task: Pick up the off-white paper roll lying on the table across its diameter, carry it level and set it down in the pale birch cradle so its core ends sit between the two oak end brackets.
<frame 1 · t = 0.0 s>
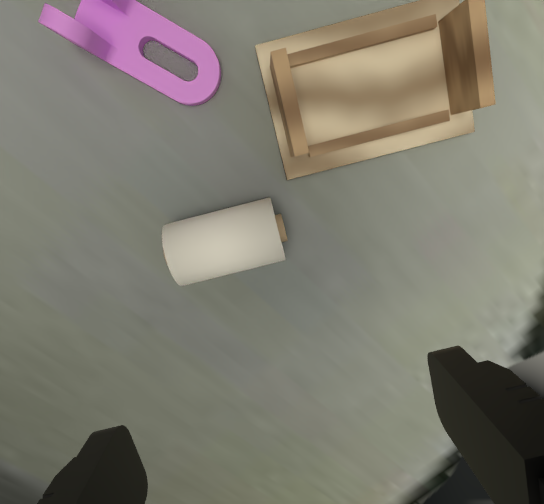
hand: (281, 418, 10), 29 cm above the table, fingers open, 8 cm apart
cradle: (365, 91, 35), on the table
roll: (229, 235, 39), on the table
bracket: (154, 52, 35), on the table
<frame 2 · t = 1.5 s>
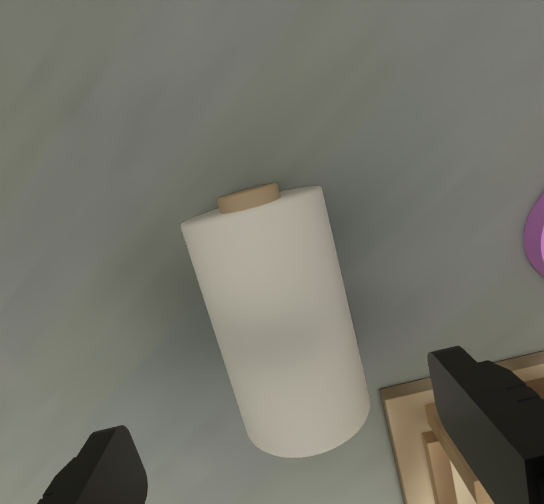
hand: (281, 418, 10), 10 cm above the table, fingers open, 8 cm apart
cradle: (505, 494, 23), on the table
roll: (278, 290, 20), on the table
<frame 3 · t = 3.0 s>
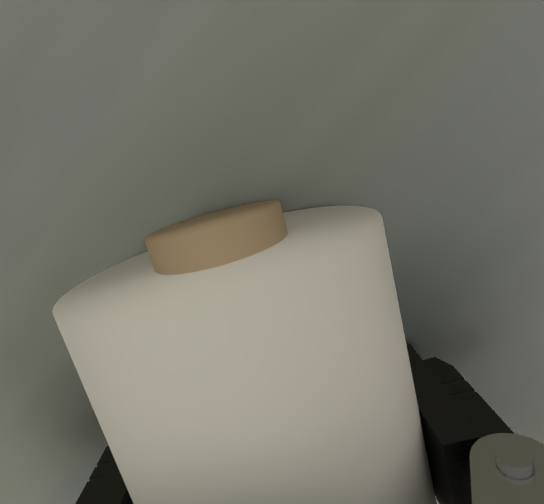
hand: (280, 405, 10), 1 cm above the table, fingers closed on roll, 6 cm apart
roll: (279, 383, 11), on the table, touching gripper
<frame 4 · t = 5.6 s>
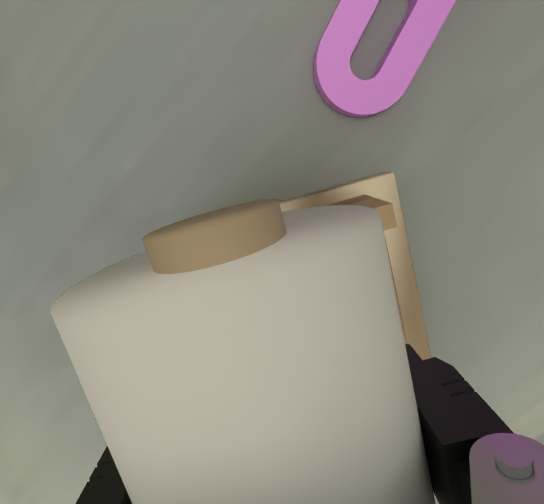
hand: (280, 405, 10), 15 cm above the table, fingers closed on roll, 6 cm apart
cradle: (330, 324, 26), on the table
roll: (278, 383, 11), point 14 cm above the table, touching gripper
bracket: (391, 7, 22), on the table
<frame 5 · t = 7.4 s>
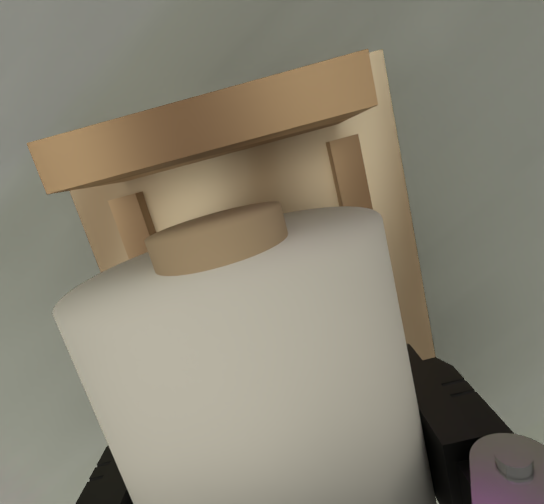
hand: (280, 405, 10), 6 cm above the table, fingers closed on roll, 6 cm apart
cradle: (276, 317, 16), on the table
roll: (279, 384, 11), point 5 cm above the table, touching gripper
when the fingers open (3 cm above the table, at t = 8.5 s): roll stays where it is, resting on cradle.
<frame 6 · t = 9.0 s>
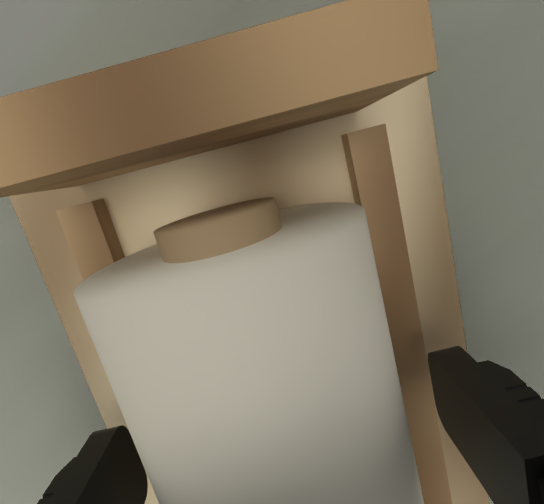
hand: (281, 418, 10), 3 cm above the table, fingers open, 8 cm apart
cradle: (276, 353, 13), on the table
roll: (279, 368, 12), point 1 cm above the table, touching cradle
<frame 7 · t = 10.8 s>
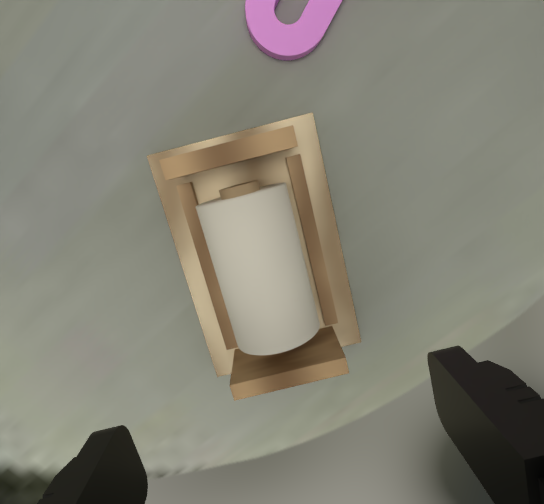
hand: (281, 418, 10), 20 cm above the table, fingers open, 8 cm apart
cradle: (261, 252, 30), on the table
roll: (262, 255, 29), point 1 cm above the table, touching cradle
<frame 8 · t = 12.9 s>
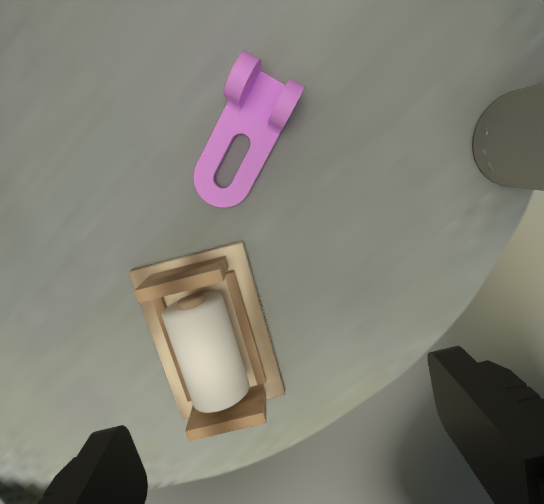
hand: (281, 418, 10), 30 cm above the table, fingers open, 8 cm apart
cradle: (211, 332, 42), on the table
roll: (211, 336, 41), point 1 cm above the table, touching cradle
bracket: (241, 144, 38), on the table
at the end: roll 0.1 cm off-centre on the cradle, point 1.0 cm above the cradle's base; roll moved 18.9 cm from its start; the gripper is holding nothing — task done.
